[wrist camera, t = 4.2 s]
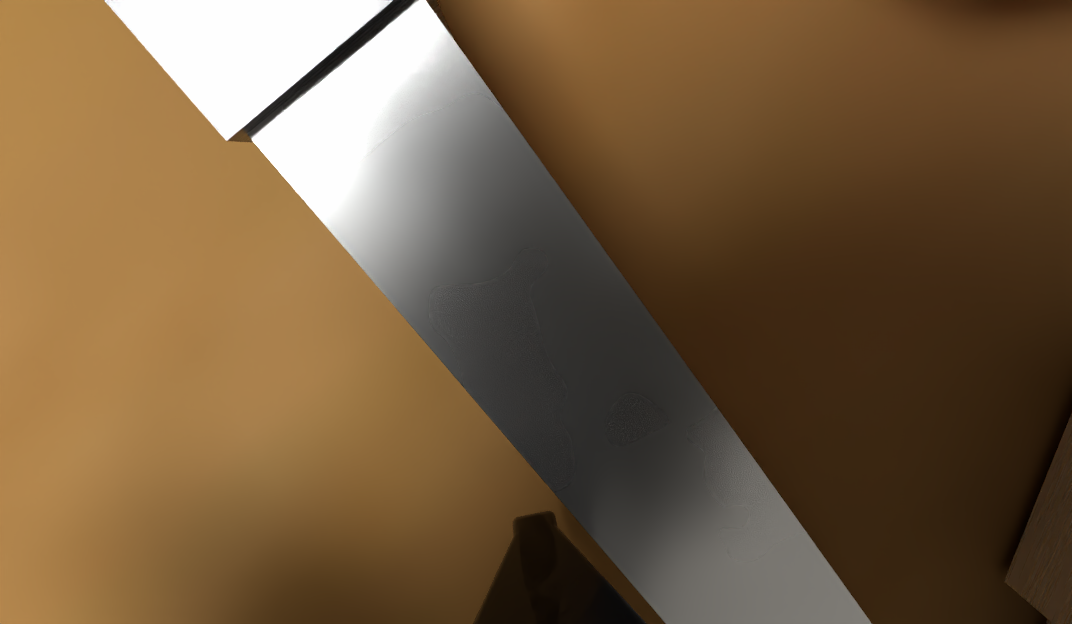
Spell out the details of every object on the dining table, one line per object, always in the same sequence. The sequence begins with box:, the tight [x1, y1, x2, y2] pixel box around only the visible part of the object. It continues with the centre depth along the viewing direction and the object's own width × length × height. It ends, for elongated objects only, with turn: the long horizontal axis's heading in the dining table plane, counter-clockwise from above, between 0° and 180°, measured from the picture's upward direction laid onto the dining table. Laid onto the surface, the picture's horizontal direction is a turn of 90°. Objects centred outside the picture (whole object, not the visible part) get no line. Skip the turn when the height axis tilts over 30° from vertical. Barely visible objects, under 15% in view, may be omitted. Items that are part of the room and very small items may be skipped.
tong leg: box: [104, 0, 872, 624], centre depth 7 cm, size 19×2×3 cm, turn 37°
